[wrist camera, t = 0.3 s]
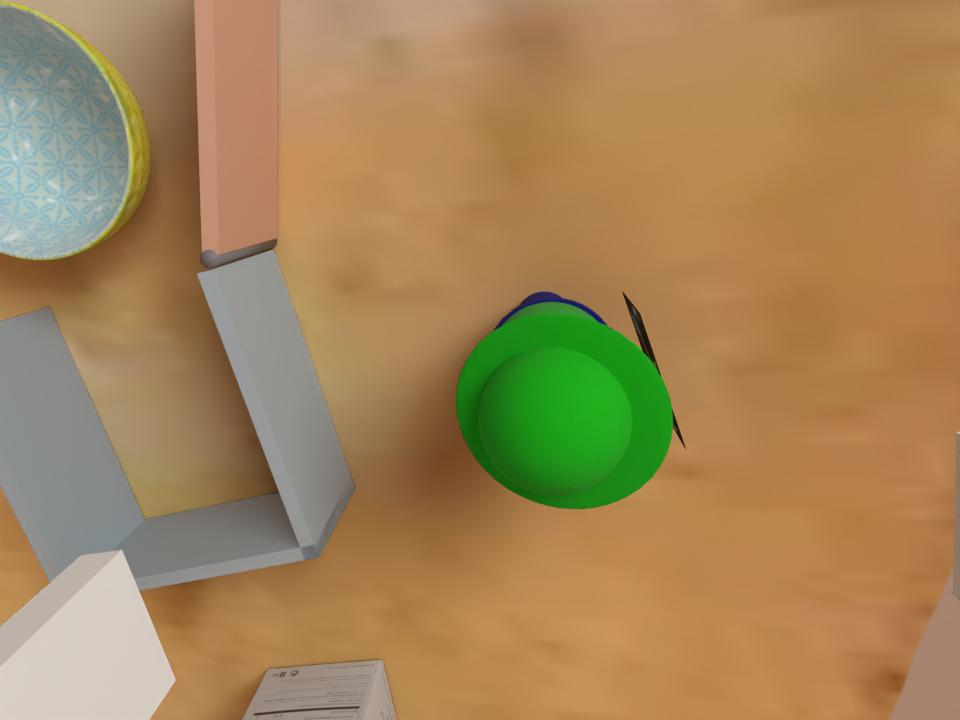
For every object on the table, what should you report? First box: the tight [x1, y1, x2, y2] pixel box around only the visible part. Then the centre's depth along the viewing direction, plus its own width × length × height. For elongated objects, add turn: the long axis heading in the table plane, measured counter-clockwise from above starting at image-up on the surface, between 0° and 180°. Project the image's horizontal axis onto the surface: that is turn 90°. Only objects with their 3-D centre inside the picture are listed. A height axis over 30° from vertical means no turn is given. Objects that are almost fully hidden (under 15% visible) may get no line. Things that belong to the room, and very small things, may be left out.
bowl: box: [0, 1, 151, 260], centre depth 32 cm, size 11×12×6 cm
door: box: [194, 0, 278, 268], centre depth 30 cm, size 2×16×7 cm, turn 174°
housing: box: [0, 249, 355, 591], centre depth 36 cm, size 16×16×8 cm
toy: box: [456, 291, 686, 509], centre depth 30 cm, size 9×9×15 cm
